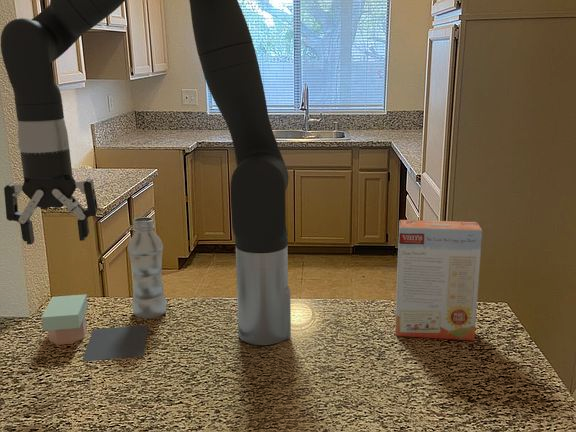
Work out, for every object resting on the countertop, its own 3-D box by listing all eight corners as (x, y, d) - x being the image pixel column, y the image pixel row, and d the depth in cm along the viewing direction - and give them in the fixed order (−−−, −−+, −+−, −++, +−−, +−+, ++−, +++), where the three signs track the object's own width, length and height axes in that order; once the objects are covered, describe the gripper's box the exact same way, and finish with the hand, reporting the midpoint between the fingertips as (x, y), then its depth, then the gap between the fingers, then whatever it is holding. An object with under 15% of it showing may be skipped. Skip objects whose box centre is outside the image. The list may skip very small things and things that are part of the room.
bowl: (88, 332, 105) (86, 310, 104) (83, 347, 100) (80, 324, 99) (54, 335, 104) (52, 312, 103) (47, 350, 99) (44, 327, 98)
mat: (148, 329, 106) (148, 324, 106) (144, 361, 95) (144, 355, 95) (93, 334, 105) (93, 329, 104) (82, 367, 93) (81, 361, 93)
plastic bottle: (140, 309, 115) (132, 214, 110) (172, 311, 114) (166, 215, 109) (127, 323, 109) (118, 223, 104) (161, 325, 108) (153, 224, 103)
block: (87, 306, 106) (86, 294, 105) (79, 327, 97) (78, 314, 97) (54, 309, 105) (52, 296, 104) (42, 330, 96) (41, 317, 96)
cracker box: (470, 327, 106) (479, 220, 101) (474, 342, 100) (484, 229, 95) (394, 322, 109) (399, 217, 103) (394, 336, 103) (399, 226, 97)
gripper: (93, 142, 98) (102, 232, 102) (5, 146, 95) (19, 238, 100) (86, 148, 91) (96, 245, 95) (-9, 152, 88) (6, 251, 92)
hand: (57, 241), depth 97 cm, fingers open, 8 cm apart
